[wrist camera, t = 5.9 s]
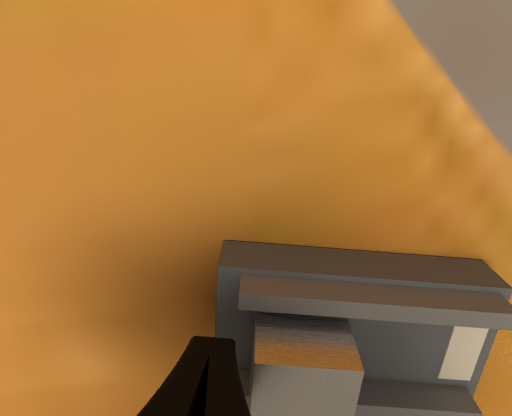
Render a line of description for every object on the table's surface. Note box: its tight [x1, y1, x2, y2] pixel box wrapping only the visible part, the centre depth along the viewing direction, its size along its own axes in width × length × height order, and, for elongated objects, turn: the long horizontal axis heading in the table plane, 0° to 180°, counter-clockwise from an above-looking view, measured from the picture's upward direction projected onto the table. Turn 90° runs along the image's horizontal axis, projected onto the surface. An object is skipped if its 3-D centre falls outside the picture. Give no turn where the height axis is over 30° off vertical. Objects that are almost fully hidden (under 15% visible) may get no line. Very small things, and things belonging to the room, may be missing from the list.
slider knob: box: [249, 311, 364, 416], centre depth 12 cm, size 3×3×3 cm
